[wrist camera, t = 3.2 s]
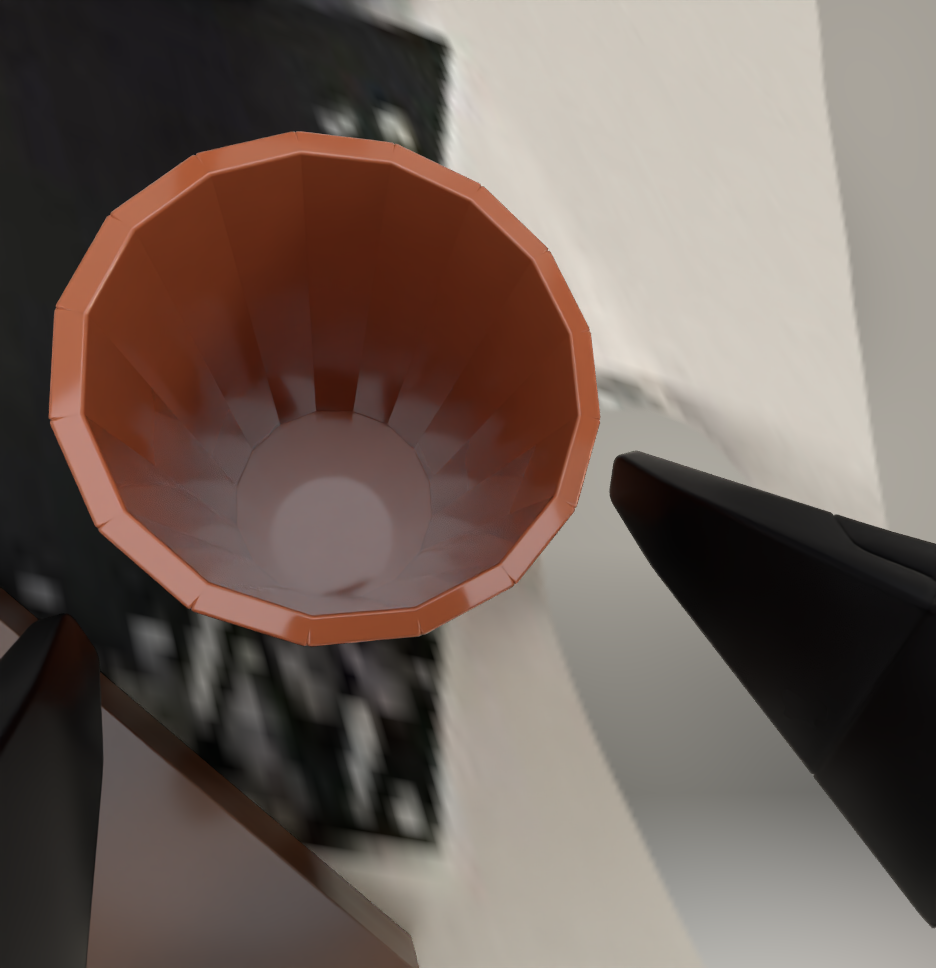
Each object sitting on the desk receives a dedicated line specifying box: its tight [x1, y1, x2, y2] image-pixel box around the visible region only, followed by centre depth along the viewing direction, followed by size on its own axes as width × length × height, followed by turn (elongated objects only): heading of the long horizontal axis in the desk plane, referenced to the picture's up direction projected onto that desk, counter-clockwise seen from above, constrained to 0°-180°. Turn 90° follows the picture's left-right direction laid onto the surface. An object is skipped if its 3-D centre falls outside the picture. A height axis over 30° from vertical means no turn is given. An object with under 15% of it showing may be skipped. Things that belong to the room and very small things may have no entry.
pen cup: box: [49, 131, 600, 647], centre depth 13 cm, size 7×7×12 cm
